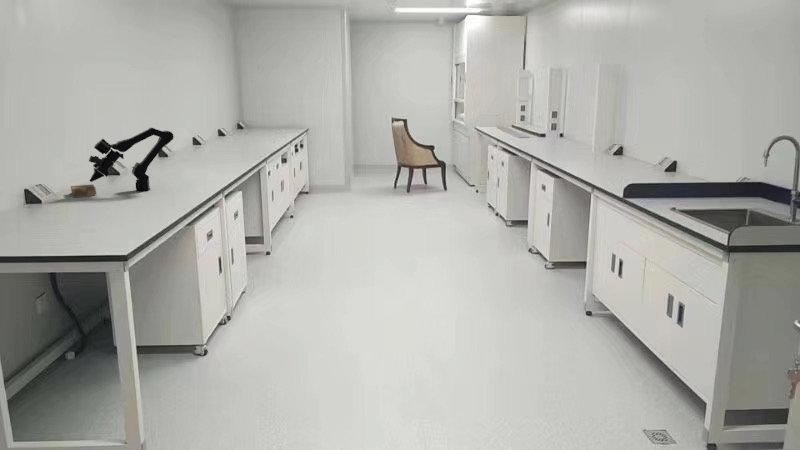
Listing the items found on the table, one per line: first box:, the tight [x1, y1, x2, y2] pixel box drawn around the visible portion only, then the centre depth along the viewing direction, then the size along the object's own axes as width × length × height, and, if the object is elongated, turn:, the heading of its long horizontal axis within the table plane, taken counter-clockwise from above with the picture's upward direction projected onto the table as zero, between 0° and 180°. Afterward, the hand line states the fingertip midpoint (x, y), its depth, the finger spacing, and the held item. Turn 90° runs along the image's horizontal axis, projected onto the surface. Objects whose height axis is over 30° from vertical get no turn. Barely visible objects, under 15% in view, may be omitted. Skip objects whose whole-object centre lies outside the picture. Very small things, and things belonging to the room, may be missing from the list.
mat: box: [69, 192, 96, 198], centre depth 339 cm, size 11×14×1 cm
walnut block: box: [70, 184, 97, 197], centre depth 339 cm, size 4×12×11 cm
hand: (90, 181), depth 340 cm, fingers closed
